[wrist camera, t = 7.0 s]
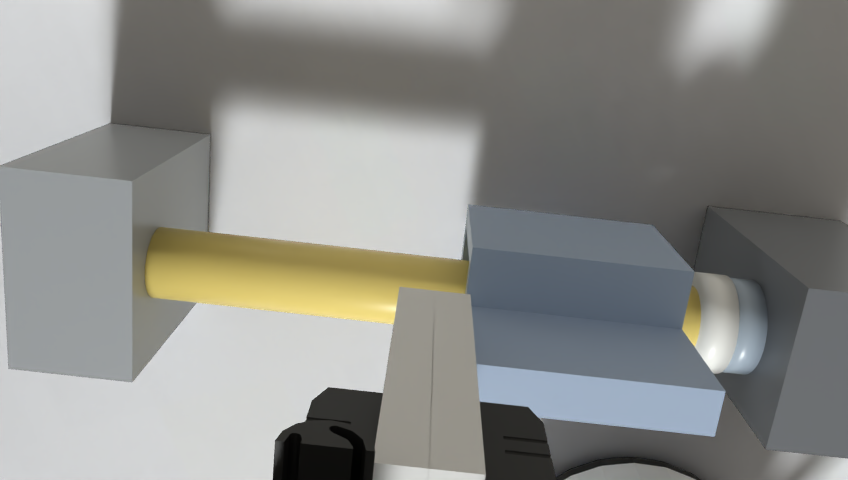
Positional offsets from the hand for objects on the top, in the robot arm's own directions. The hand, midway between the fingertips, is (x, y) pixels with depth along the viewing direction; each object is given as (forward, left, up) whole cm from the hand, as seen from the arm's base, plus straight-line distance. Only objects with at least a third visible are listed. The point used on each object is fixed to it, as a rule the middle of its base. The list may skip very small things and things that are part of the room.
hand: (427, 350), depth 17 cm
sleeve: (+3, 0, -5) cm, 6 cm away
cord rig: (+1, 0, -8) cm, 8 cm away
